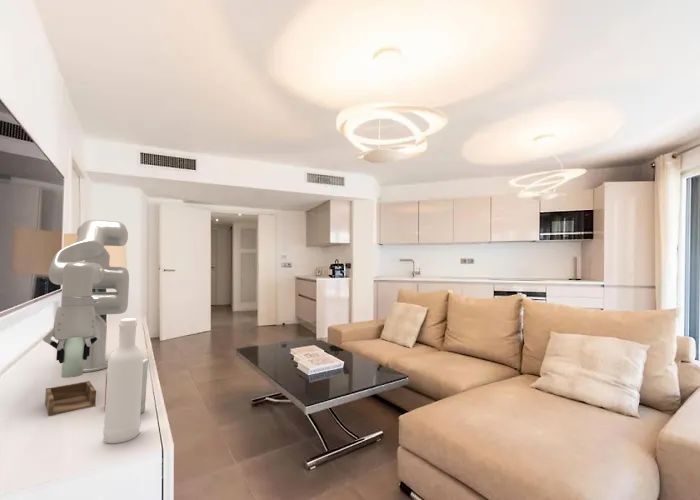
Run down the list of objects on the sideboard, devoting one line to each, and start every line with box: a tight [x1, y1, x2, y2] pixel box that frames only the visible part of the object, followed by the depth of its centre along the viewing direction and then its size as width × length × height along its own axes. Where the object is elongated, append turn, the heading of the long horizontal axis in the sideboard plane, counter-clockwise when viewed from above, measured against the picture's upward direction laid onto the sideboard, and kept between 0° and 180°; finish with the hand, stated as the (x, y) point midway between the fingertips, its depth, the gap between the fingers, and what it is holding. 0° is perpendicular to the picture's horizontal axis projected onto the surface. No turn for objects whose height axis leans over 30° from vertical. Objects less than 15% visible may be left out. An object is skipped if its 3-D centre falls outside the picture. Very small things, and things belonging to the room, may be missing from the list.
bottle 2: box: [102, 317, 144, 444], centre depth 90 cm, size 8×8×30 cm
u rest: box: [44, 380, 97, 417], centre depth 107 cm, size 12×11×5 cm
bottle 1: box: [60, 337, 85, 379], centre depth 108 cm, size 5×5×17 cm
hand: (73, 360), depth 107 cm, fingers closed on bottle 1, 5 cm apart
